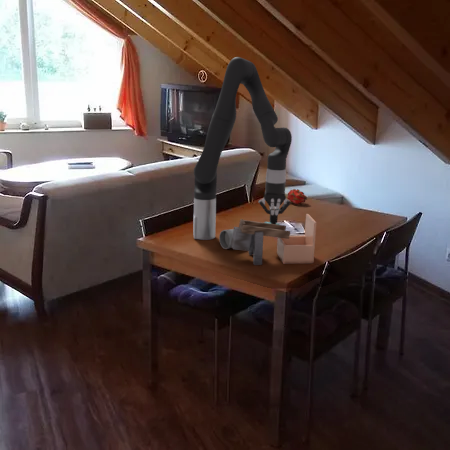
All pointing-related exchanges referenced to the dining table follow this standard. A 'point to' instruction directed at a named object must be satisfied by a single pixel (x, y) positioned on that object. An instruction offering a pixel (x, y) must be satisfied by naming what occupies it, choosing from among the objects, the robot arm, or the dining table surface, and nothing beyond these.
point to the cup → (298, 245)
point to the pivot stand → (256, 247)
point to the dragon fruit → (296, 196)
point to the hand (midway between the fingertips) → (273, 223)
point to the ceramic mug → (226, 238)
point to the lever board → (246, 230)
